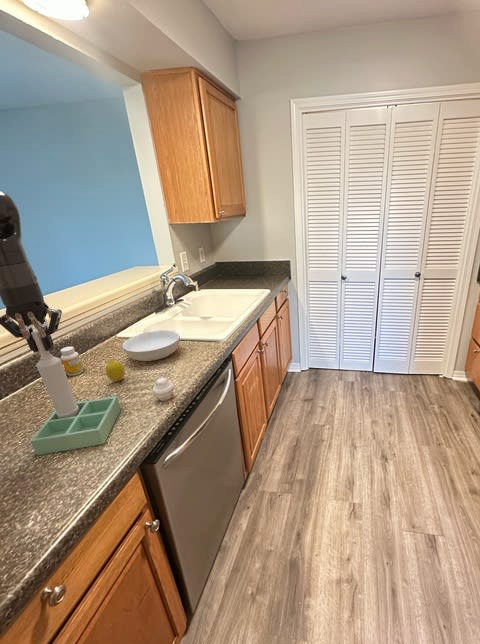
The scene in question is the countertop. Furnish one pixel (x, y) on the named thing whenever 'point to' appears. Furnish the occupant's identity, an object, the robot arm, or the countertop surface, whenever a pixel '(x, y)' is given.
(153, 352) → the serving bowl
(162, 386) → the muffin
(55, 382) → the bottle
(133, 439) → the countertop surface
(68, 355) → the supplement bottle
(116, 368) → the lemon
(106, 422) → the compartment tray
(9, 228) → the robot arm
